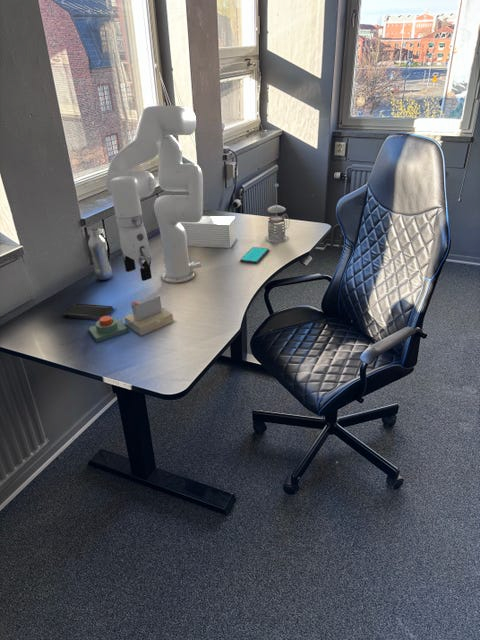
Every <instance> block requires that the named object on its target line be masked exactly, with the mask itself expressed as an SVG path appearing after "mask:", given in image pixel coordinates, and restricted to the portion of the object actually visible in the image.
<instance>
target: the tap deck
mask: <svg viewBox="0 0 480 640" xmlns="http://www.w3.org/2000/svg"><path fill="white" fill-rule="evenodd" d="M161 308H162V312H159V313H157V314H155V315H152V316H150V317H147V318H145V319H142V320H140V321H137V320H135V319H134V316H133V312H131V313H129V314H127V315H124V316H123V317H124V323H125V324H124V325H125V326H126V327H128V328H130V329H131V330H132V331H134V332H136V333H137V334H138V335H139V336H141V337H142V336H144V335H145V334H148V333H150V332H153V331H155V330H158V329H160V328H163V327H165V326H167V325H169V324H171V323H174V317H173V313H172V312H170V311H168V310H167V309H166V307H163V306H161Z"/></svg>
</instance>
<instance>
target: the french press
mask: <svg viewBox="0 0 480 640" xmlns="http://www.w3.org/2000/svg"><path fill="white" fill-rule="evenodd" d="M273 187H275V192H276V193H275V205H272V206H270V207H268V208H267V212H268V213H272V214H275V215H271V216H269V217H268V221H267V227H268V228H267V236H266V238H265V240H266V241H267V242H269V243H277V244H278V243H284V242H286V241H288V237H287V236H286V230H287V228H289V227H290V225H288V223H290V218H289V216H288V215H287V213H284V212H285V211H286V210H287V208H285V207H284V206H282V205H279V204H278V196H277V195H278V191H277V188H278V187H280V185H279V183H275V184H274V185H273ZM280 213H283V214H282V215H278V214H280ZM286 217H287V218H286ZM287 219H288V220H287Z"/></svg>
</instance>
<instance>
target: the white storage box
mask: <svg viewBox="0 0 480 640" xmlns="http://www.w3.org/2000/svg"><path fill="white" fill-rule="evenodd" d="M180 223H181V224H182V226H183V227H184V229H185V231H186V237H187V246H188V247H202V248H220V249H221V248H222V249H231V248H232V246H233V245H234V244H235V242H236V241H237V227H236V216H219V215H218V216H215V215H214V216H213V215H202V218H201V220H200V221H198V222H180Z"/></svg>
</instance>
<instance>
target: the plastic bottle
mask: <svg viewBox="0 0 480 640" xmlns="http://www.w3.org/2000/svg"><path fill="white" fill-rule="evenodd" d="M88 232H89V236H90V237H89V239H88V241H87V245H88V248H89V251H90V253H91V256H92V260H93V267H94V275H95V278H96V279H97V280H101V281H105V280H109V279H111V278H112V276H113V270H112V267H111V264H110V261H109V258H108V251H107V241H106V239H105V238H104V237H103V236H102V235H101V230H100V228H99V227H94V228H90V229H89V230H88Z"/></svg>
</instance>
